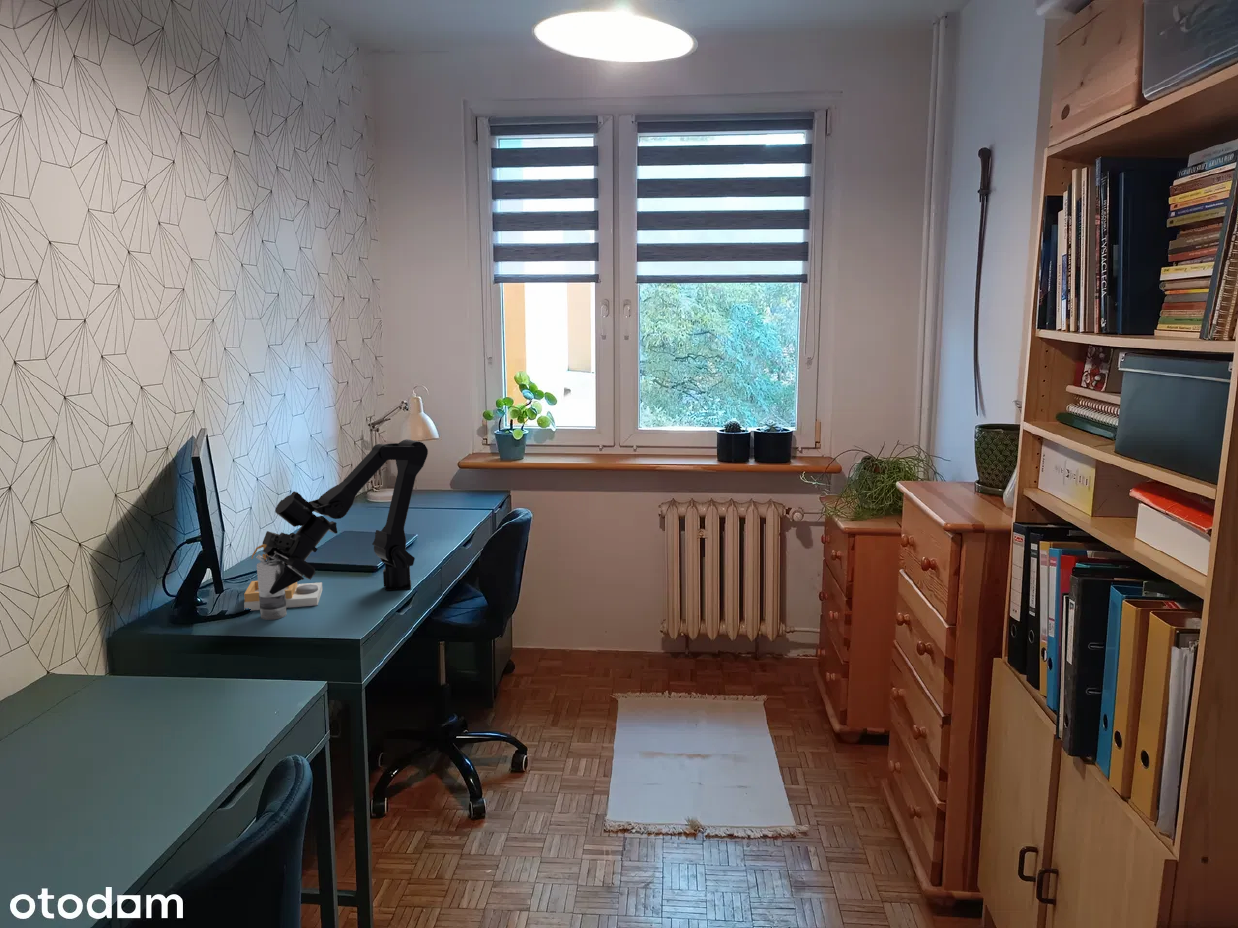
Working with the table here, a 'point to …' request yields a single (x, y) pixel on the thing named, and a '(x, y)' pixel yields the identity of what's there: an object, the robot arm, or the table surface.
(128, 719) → the table surface
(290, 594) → the white orange holder tray
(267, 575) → the spout can
